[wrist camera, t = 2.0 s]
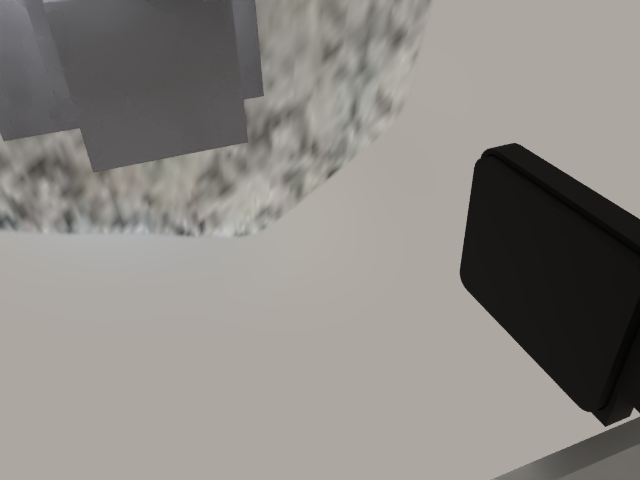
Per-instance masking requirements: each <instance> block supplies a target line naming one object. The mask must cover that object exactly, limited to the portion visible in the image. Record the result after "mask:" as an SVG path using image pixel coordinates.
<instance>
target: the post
mask: <svg viewBox="0 0 640 480" xmlns="http://www.w3.org/2000/svg"><path fill="white" fill-rule="evenodd" d="M43 6H44V9H45V12H46V16H47V19H48V22H49V26H50V29H51V32H52V36H53V39H54V42H55V46H56V49H57V52H58V56H59V59H60V62H61V66H62V69H63V72H64V76H65V79H66V82H67V86H68V89H69V92H70V96H71V99H72V102H73V106H74V109H75V112H76V116H77V119H78V122H79V126H80V129H81V132H82V136H83V139H84V142H85V146H86V149H87V152H88V156H89V159H90V162H91V166H92V169H93V172H97V171H102V170H107V169H113V168H118V167H123V166H128V165H133V164H138V163H143V162H148V161H153V160H159V159H164V158H169V157H174V156H179V155H184V154H189V153H194V152H199V151H205V150H210V149H215V148H220V147H225V146H230V145H235V144H240V143H245V142H248V137H247V129H246V120H245V111H244V103H243V94H242V85H241V77H240V68H239V59H238V51H237V42H236V33H235V25H234V16H233V7H232V0H43Z"/></svg>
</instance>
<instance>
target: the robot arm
mask: <svg viewBox="0 0 640 480" xmlns="http://www.w3.org/2000/svg"><path fill="white" fill-rule="evenodd" d="M460 278H461V281H462V283H463V285H464V287H465V288H466V289H467V291H469V293H470V294H471V295H472V296H473V297H474V298H475V299H476V300H477V301H478V302H479V303H480V304H481V305H482V306H483V307H484V308H485V309H486V310H487V311H488V312H489V314H490V315H491V316H492V317H493V318H494V319H495V320H496V321H497V322H498V323H499V324H500V325H501V326H502V327H503V328H504V329H505V330H506V331H507V332H508V333H509V334H510V335H511V336H512V337H513V338H514V340H515V341H516V342H517V343H518V344H519V345H520V346H521V347H522V348H523V349H524V350H525V351H526V352H527V353H528V354H529V355H530V356H531V357H532V358H533V359H534V360H535V361H536V363H538V365H539V366H540V367H541V368H542V369H543V370H544V371H545V372H546V373H547V374H548V375H549V376H550V377H551V378H552V379H553V380H554V381H555V382H556V383H557V384H558V385H559V386H560V388H561V389H562V390H563V391H564V392H565V393H566V394H567V395H568V396H569V397H570V398H571V399H572V400H573V401H574V402H575V403H576V404H577V405H578V406H579V407H580V408H581V409H582V410H584V411H587V412H592V413H593V415H594V416H596V418H597V419H598V420H599V421H600V422H601V423H602V424H603V425H604V426H605V427H606V426H608V425H611V424H613V423H615V422H618V421H620V420H622V419H625V418H627V417H629V416H630V415H631V412H632V410H633V408H635V409H636V410H637V411H638V412H639V413H640V219H638V218H637V217H635V216H634V215H632V214H631V213H629V212H627V211H626V210H624V209H622V208H620V207H619V206H618V205H616V204H614V203H613V202H611V201H610V200H608V199H606V198H605V197H603V196H602V195H600V194H598V193H597V192H595V191H593V190H592V189H590V188H589V187H587V186H585V185H584V184H582V183H580V182H579V181H577V180H576V179H574V178H573V177H571V176H569V175H568V174H566V173H564V172H563V171H561V170H559V169H558V168H556V167H555V166H553V165H552V164H550V163H548V162H547V161H545V160H544V159H542V158H540V157H539V156H537V155H535V154H534V153H532V152H531V151H529V150H527V149H525V148H524V147H523V146H521V145H519V144H516V143H512V144H508V145H503V146H499V147H494V148H490V149H487V150H486V151H484V152H483V154H482V156H481V159H479V160H477V162H476V164H475V167H474V174H473V181H472V188H471V195H470V202H469V209H468V216H467V223H466V230H465V238H464V245H463V252H462V259H461V266H460ZM492 480H640V417H638V418H636V419H634V420H631V421H629V422H626V423H624V424H622V425H619V426H617V427H615V428H612V429H610V430H608V431H605V432H603V433H601V434H598V435H596V436H593V437H591V438H589V439H586V440H584V441H581V442H579V443H577V444H574V445H572V446H570V447H567V448H565V449H562V450H560V451H558V452H555V453H553V454H551V455H548V456H546V457H544V458H541V459H539V460H536V461H534V462H532V463H529V464H527V465H525V466H522V467H520V468H518V469H515V470H513V471H511V472H508V473H506V474H504V475H501V476H499V477H497V478H494V479H492Z"/></svg>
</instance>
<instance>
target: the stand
mask: <svg viewBox="0 0 640 480" xmlns="http://www.w3.org/2000/svg"><path fill="white" fill-rule="evenodd" d="M232 7H233V16H234V25H235V33H236V42H237V51H238V59H239V68H240V77H241V85H242V94H243V99H249V98H255V97H261V96H264V94H263V83H262V72H261V62H260V51H259V40H258V29H257V19H256V8H255V0H232ZM76 128H80V126H79V122H78V119H77V116H76V112H75V109H74V106H73V102H72V99H71V96H70V92H69V89H68V86H67V82H66V79H65V76H64V72H63V69H62V66H61V62H60V59H59V56H58V52H57V49H56V46H55V42H54V39H53V36H52V32H51V29H50V26H49V22H48V19H47V16H46V12H45V9H44V6H43V0H0V132H1V135H2V138H3V140H4V141H7V140H13V139H18V138H24V137H30V136H36V135H41V134H47V133H53V132H59V131H64V130H70V129H76Z"/></svg>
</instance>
